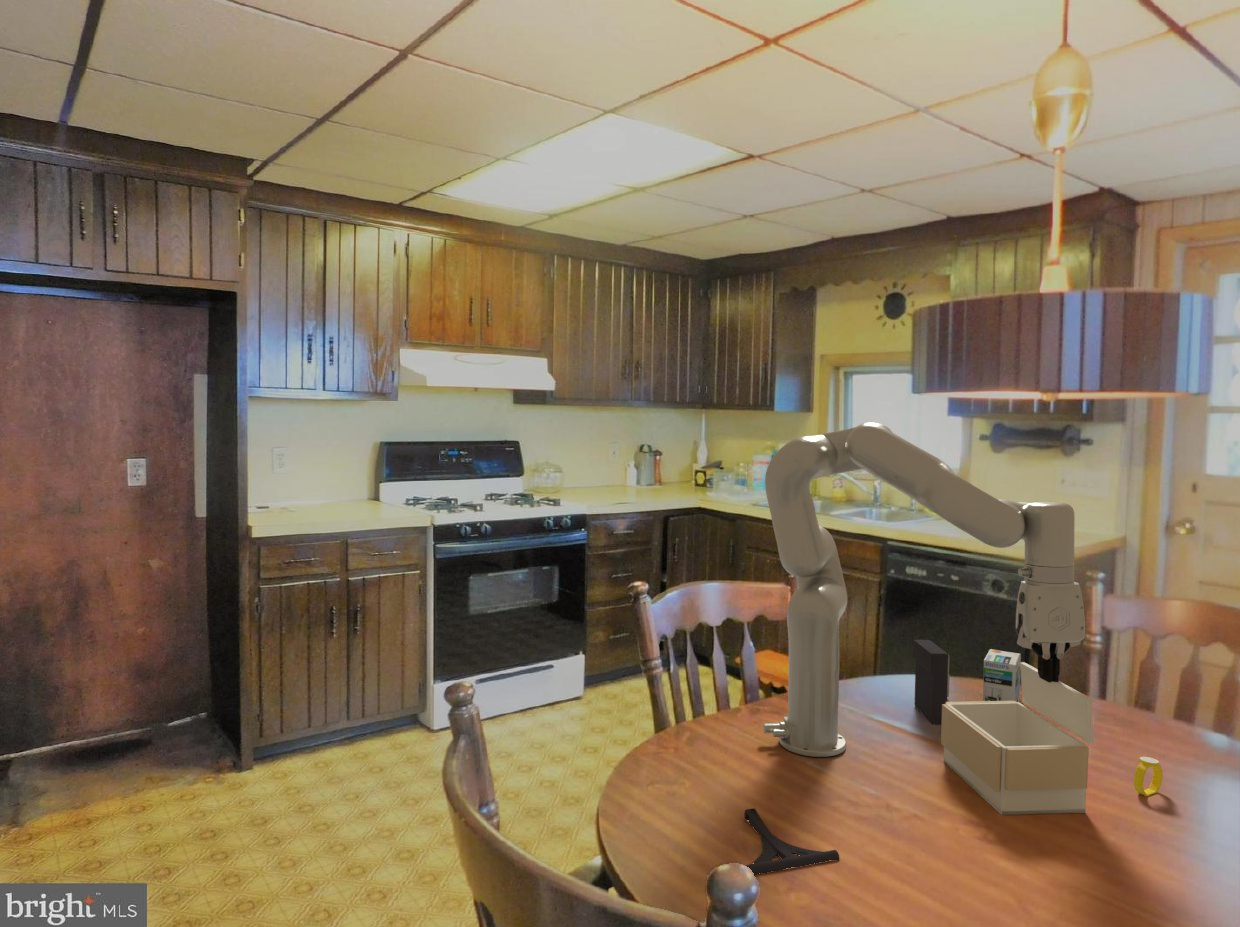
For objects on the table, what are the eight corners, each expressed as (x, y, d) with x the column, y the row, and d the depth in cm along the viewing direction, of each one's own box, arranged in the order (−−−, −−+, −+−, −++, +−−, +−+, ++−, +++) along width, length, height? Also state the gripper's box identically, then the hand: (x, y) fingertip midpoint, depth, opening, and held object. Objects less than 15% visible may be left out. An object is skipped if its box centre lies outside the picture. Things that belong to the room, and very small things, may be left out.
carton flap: (1086, 699, 129) (1091, 698, 129) (1019, 662, 148) (1024, 662, 148) (1089, 743, 130) (1094, 743, 130) (1022, 701, 149) (1026, 701, 149)
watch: (1148, 788, 139) (1151, 754, 139) (1165, 795, 137) (1168, 760, 137) (1128, 793, 136) (1131, 758, 136) (1145, 800, 134) (1148, 764, 134)
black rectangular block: (950, 725, 167) (952, 653, 166) (929, 724, 167) (931, 653, 166) (931, 706, 178) (932, 639, 177) (911, 705, 178) (913, 639, 177)
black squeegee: (788, 815, 130) (788, 798, 130) (839, 864, 116) (839, 845, 116) (705, 829, 126) (705, 812, 125) (748, 881, 111) (748, 862, 111)
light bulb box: (1015, 714, 173) (1017, 665, 172) (981, 708, 177) (982, 660, 176) (1020, 699, 182) (1021, 652, 182) (987, 694, 186) (989, 648, 185)
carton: (999, 817, 128) (1001, 750, 127) (937, 760, 150) (939, 702, 149) (1088, 815, 129) (1091, 748, 128) (1014, 758, 150) (1016, 700, 150)
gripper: (1019, 579, 134) (1018, 688, 134) (1105, 577, 134) (1104, 685, 135) (995, 571, 141) (995, 675, 142) (1077, 569, 142) (1076, 671, 143)
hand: (1048, 679), depth 139 cm, fingers closed
